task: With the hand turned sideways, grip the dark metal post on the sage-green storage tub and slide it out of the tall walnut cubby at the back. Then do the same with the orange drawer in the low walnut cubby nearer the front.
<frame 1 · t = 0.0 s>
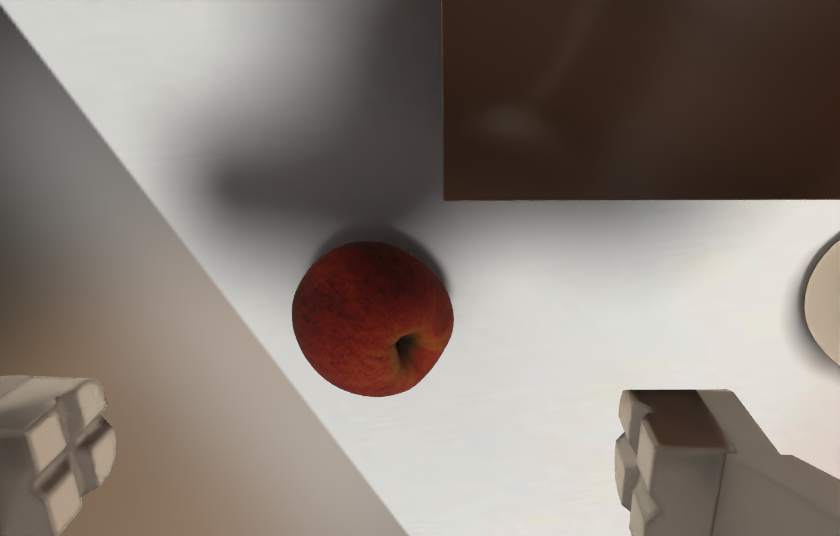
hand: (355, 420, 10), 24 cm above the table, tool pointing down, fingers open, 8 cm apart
apple: (381, 288, 35), on the table
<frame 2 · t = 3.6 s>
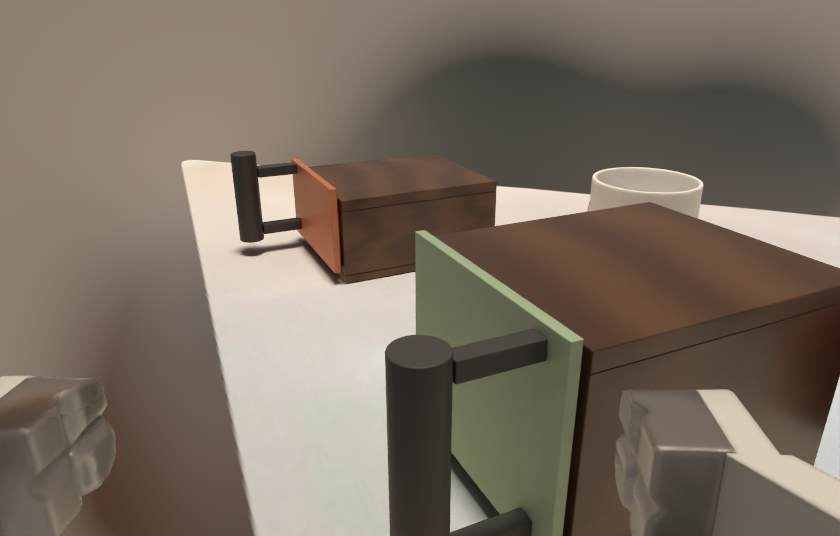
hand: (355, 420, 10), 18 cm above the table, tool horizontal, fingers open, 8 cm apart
cubby low: (395, 247, 68), on the table
mug: (619, 292, 57), on the table
cubby tall: (604, 447, 37), on the table
orange drawer: (354, 200, 64), point 6 cm above the table, slide at 0.0 cm
tub sage: (551, 362, 32), point 7 cm above the table, slide at 0.0 cm
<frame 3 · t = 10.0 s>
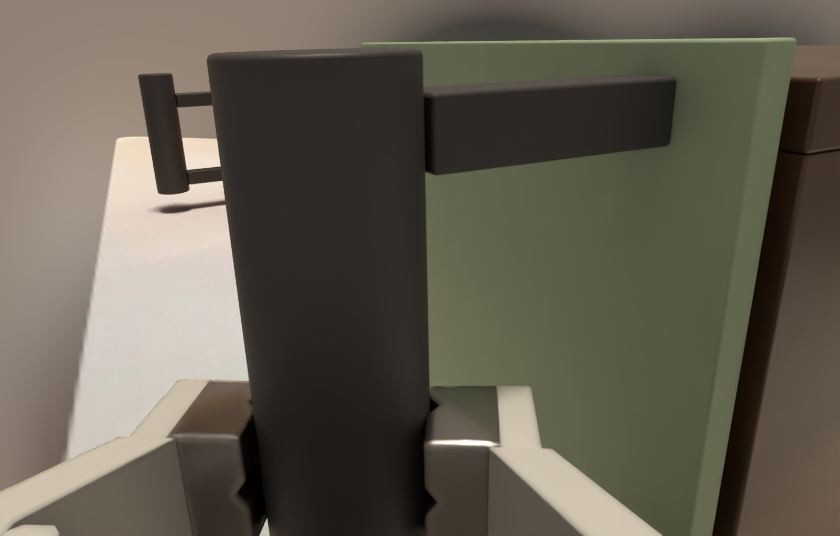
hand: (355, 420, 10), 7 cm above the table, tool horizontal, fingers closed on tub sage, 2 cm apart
cubby tall: (698, 424, 21), on the table
orange drawer: (305, 134, 49), point 6 cm above the table, slide at 0.0 cm
tub sage: (617, 257, 17), point 7 cm above the table, slide at 0.0 cm, touching gripper
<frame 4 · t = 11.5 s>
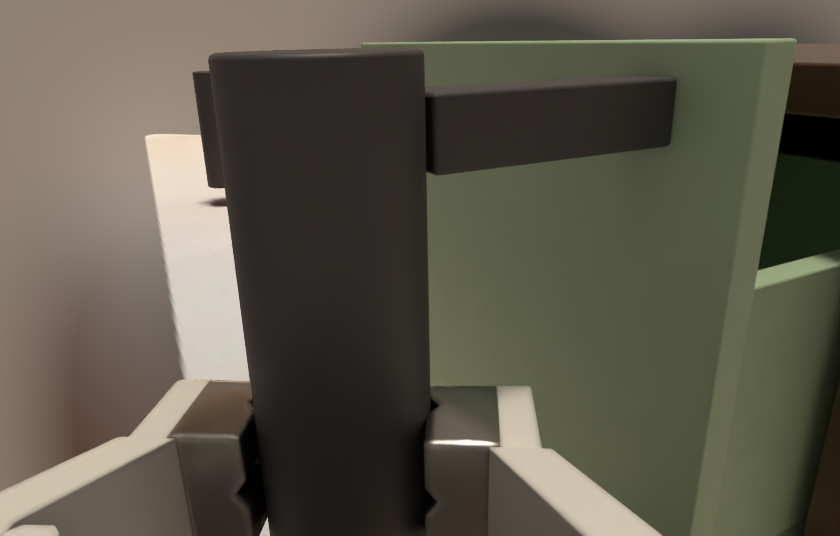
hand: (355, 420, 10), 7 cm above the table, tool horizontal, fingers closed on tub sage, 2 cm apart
cubby tall: (774, 394, 23), on the table
orange drawer: (352, 129, 51), point 6 cm above the table, slide at 0.0 cm
tub sage: (616, 257, 17), point 7 cm above the table, slide at 4.0 cm, touching gripper
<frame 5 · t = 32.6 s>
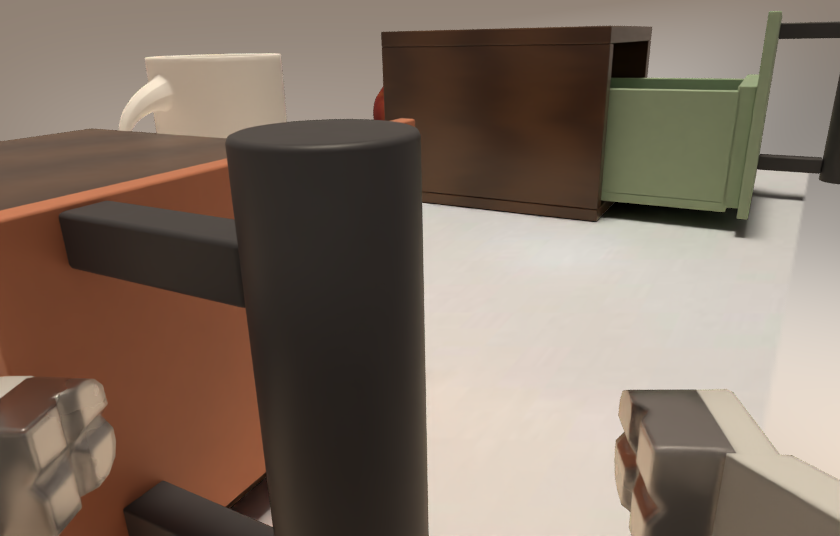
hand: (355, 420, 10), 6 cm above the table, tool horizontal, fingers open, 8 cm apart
cubby low: (103, 397, 22), on the table
mug: (215, 221, 44), on the table
cubby tall: (517, 188, 51), on the table
orange drawer: (164, 257, 18), point 6 cm above the table, slide at 0.0 cm, touching gripper
tub sage: (690, 106, 43), point 7 cm above the table, slide at 7.8 cm
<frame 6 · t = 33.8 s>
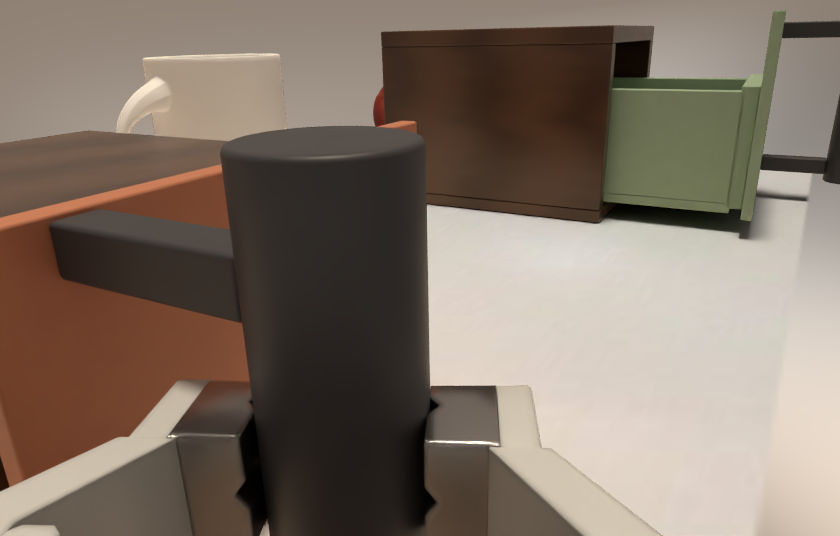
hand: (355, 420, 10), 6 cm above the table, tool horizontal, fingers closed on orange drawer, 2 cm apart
cubby low: (100, 404, 22), on the table
apple: (410, 155, 67), on the table
mug: (214, 223, 44), on the table
cubby tall: (518, 189, 50), on the table
orange drawer: (161, 264, 18), point 6 cm above the table, slide at 0.0 cm, touching gripper
tub sage: (693, 106, 42), point 7 cm above the table, slide at 7.8 cm
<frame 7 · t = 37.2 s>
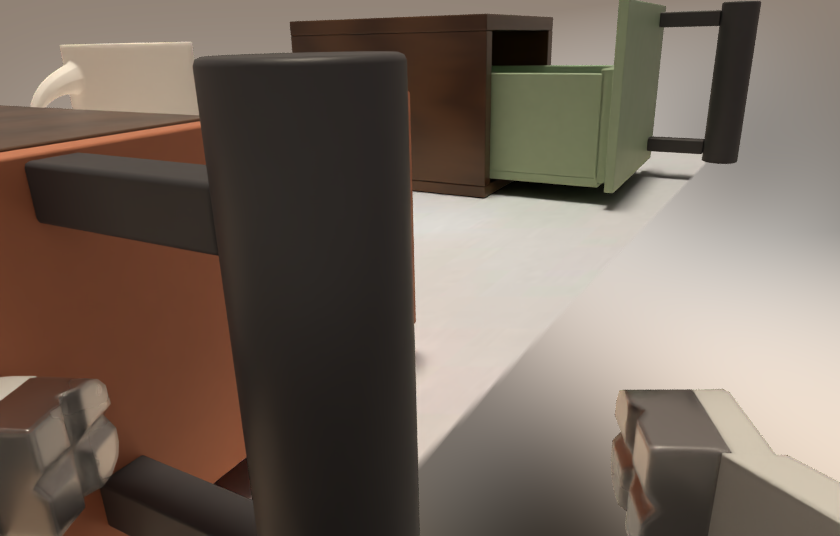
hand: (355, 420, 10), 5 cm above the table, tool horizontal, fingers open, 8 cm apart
mug: (133, 199, 47), on the table
cubby tall: (429, 170, 54), on the table
orange drawer: (149, 231, 17), point 6 cm above the table, slide at 7.8 cm, touching gripper
tub sage: (576, 90, 46), point 7 cm above the table, slide at 7.8 cm
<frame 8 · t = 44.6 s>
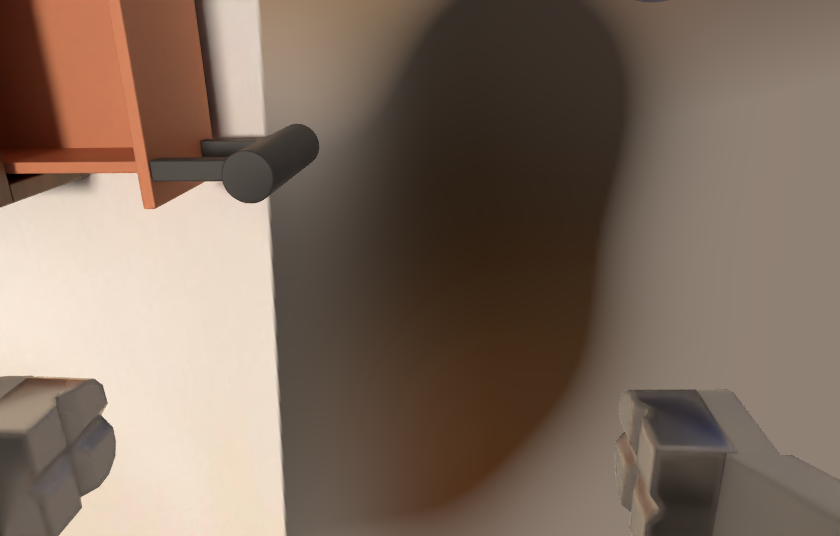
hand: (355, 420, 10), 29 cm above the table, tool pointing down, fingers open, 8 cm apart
orange drawer: (75, 59, 31), point 6 cm above the table, slide at 7.8 cm
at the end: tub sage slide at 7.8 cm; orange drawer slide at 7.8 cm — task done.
